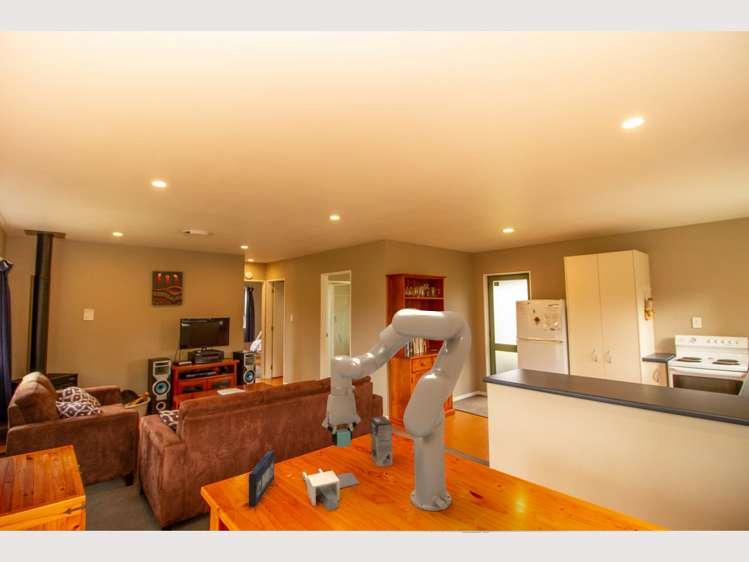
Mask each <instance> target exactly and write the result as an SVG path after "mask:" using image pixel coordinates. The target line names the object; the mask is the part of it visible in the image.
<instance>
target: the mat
mask: <svg viewBox="0 0 749 562" xmlns="http://www.w3.org/2000/svg"><path fill="white" fill-rule="evenodd" d="M336 476H337V478H338V479H339V481H340V488H342V489H345V488H344V487H346V488H349V487H348V486H350V487H354V486H353V485H355V486H358V485H360V484H361V483H360V482H359V480H358V479H357V478H356V476H355V475H354V474H353V473H352V472H347V473H342V474H337V475H336Z"/></svg>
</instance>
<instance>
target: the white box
mask: <svg viewBox="0 0 749 562" xmlns="http://www.w3.org/2000/svg"><path fill="white" fill-rule="evenodd" d="M303 478H304V479H303ZM302 479H303V481H304V480H305V481H304V483H305V482H306V483H305V485H306V484H307V485H306V487H307V490H306V491H307V496H308V495H309V496H308V498H309V497H310V498H309V500H310V499H311V500H310V502H311V505H312V506H313V507H315V506H316V505H317V500H316V499H317V498H316V497H317V495H316V487H321V486H325V485H327V486H328V487H329V488H331V490H332V491H333V492H334V493H335V494H336V495H337V497H338V501H339V499H340V496H341V492H340V491H341V489H340V481H339V479H338V478H337V475H336V473H335V472H334V470H330V471H329V470H328V471H324V472H323V470H322V469H321V468H318V473H315V474H309V475H307V473H306V471H302ZM314 505H315V506H314Z"/></svg>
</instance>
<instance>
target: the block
mask: <svg viewBox="0 0 749 562" xmlns="http://www.w3.org/2000/svg"><path fill="white" fill-rule="evenodd" d="M336 434H337V446H336V447H337V448H339V449H340V448H344V447H349V446H350V447H351V444H352V439H351V436H350V431H349V430H347V428H342V429H336Z"/></svg>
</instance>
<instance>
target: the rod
mask: <svg viewBox="0 0 749 562" xmlns="http://www.w3.org/2000/svg"><path fill="white" fill-rule="evenodd" d="M316 494H317V495H316V497H317V496H318V497H319V498H318V497H317V498H318V499H319V501H320V502H321V503H322V504H323V506H326V507H325V508H326V509H327V511H329V510H331V511H333V509H334V510H336V508H337V509H339V500H338V497H337V495H336V494H335V493H334V492H333V491H332V490H331V489H330V488H329V487H328V486H327V485H325V486H321V487H316Z"/></svg>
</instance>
